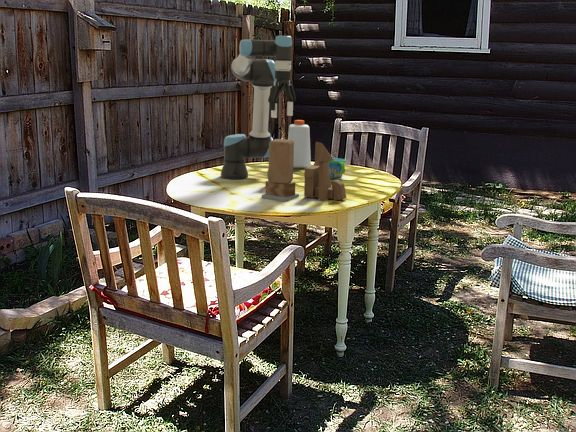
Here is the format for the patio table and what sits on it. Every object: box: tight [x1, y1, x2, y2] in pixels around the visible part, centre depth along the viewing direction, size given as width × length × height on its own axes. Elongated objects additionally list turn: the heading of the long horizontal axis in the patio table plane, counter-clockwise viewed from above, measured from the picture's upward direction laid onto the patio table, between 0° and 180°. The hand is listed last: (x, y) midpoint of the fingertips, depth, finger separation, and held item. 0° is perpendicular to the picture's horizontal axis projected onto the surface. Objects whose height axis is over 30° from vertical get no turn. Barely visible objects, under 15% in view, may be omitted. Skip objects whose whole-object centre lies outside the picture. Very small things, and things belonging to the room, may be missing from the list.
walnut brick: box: [264, 180, 296, 197], centre depth 322 cm, size 12×8×6 cm, turn 51°
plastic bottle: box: [287, 119, 312, 169], centre depth 408 cm, size 15×15×28 cm
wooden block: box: [267, 138, 294, 184], centre depth 319 cm, size 10×10×20 cm
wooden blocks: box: [303, 141, 348, 202], centre depth 323 cm, size 24×20×28 cm
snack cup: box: [329, 157, 346, 179], centre depth 377 cm, size 16×10×10 cm
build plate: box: [261, 192, 300, 202], centre depth 323 cm, size 13×13×2 cm
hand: (282, 116), depth 314 cm, fingers open, 13 cm apart
